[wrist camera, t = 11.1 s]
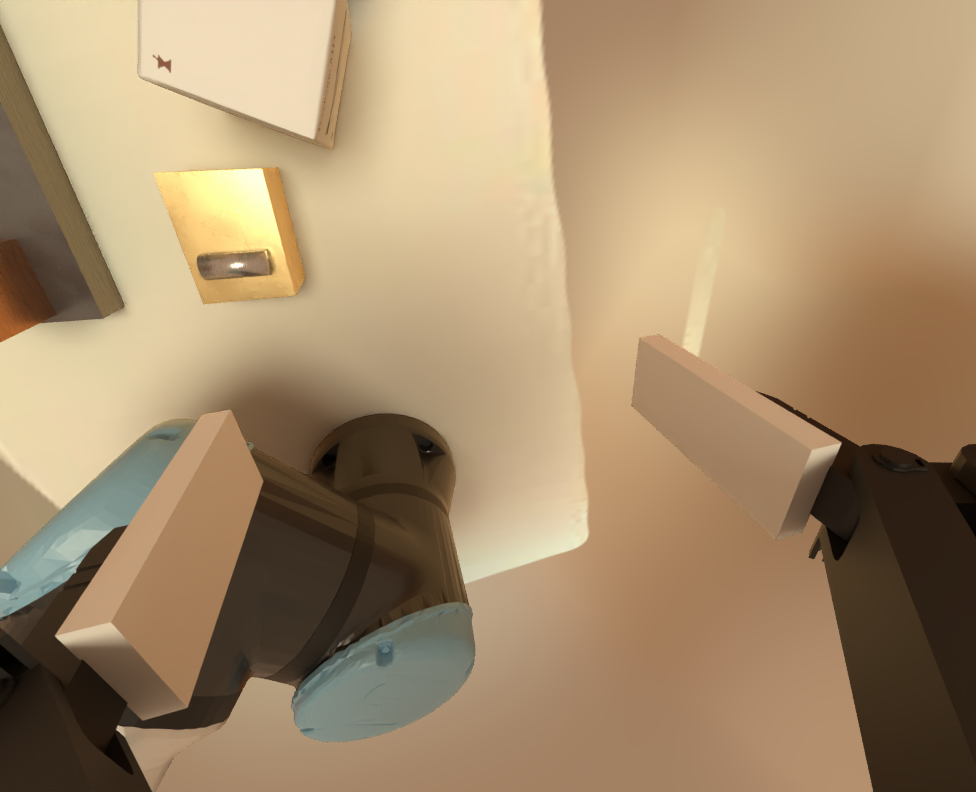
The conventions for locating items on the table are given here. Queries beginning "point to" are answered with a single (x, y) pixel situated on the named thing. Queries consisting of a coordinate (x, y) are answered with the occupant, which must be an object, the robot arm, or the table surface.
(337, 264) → the table surface
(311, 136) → the supplement box
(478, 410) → the table surface
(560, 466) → the table surface
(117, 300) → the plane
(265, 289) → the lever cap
